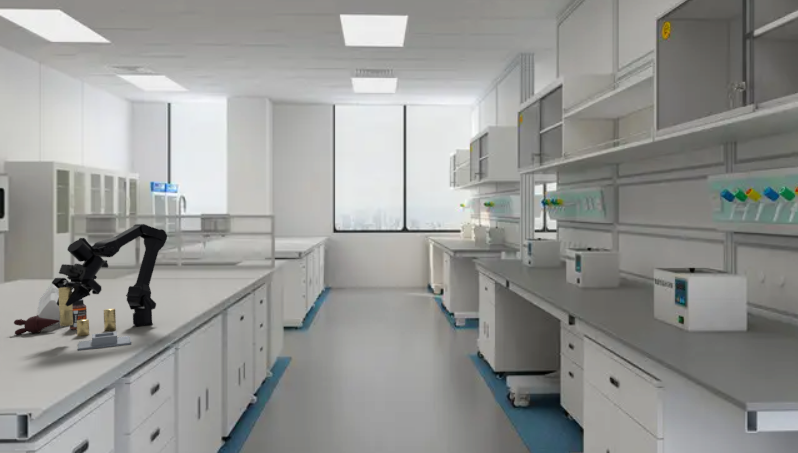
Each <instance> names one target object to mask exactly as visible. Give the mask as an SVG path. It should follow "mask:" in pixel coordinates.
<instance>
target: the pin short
mask: <svg viewBox="0 0 798 453" xmlns="http://www.w3.org/2000/svg"><path fill="white" fill-rule="evenodd" d="M76 336H77V337H85V336H90V319H88V318H87V319H82V320H77V330H76Z"/></svg>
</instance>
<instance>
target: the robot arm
mask: <svg viewBox="0 0 798 453" xmlns="http://www.w3.org/2000/svg"><path fill="white" fill-rule="evenodd" d="M137 238H142V239H143V244H144V248H145V249H144V252H143V253H144V254H143V256H142V261H141V265H140V269H139V270H138V274H137V275H138V276H137V278H136V282H135V283H134V285H129V286H128V290H127V293H126V295H125V296H126V302H127V304H128V305H129V306H128V307H129V308H130V310H132V311H133V313H132V323H133V325H134V327H141V326H152V325H154V323H153V310H155V309H156V307H157V303H156V302H155V301H154V300H153V298H151V297H152V292H151V291H152V290H151V287H150V284H151V280H152V276H153V273H154V270H155V269H154V268H155V265H156V261H157V259H158V255H159V252H160V251H161V249H162V248H163V247H164V246H165V244H166V243H167V239H168V234H167V233H166V230H164V229H162V228H160V229H159V228H156V227H153V226H150V225H148V224H145V223H136V224H134V225H133V226H132V227H129V228H128V229H126V230H124V231H122V232H121V233H118V234H117V235H115V236H113V237H111V238H108V239H102V240H100V241H96V242H95V243H94V244H93V245H91V244H90V242H88V240H87V239H86V238H85V237H79V238H78V239H76V240H75V241H73V242H72V243H70V244H69V245H68V247H67V252H69V254H71V255H72V256H73V257H74V258H75V259H76V260H77V261H78V262H81V263H74V264H64V263H63V264H61V266H60V268H59V272H58V274H59V275H64V276H67V278H65V277H55V278H54V279H53V280H52V281H51V284H54V285H55V286H56V287H57V288H61V287H72V294H71V296H70V297H69V299H68V300H67V302H66V304H65V305H66V306H70V305H71V304H73V303H75V302H77V301H79V300H80V299H85V298H86V297H88V296H89V297H90V296H91V293H92V294H93V295H100V293H101V291H102V290H103V289H102V285H101V284H100V283H99V282H98V281H97V280H96V279H97V278H98V277H97V274H98V272H99V271H100V270H101V268H102V269H103V268H104V269H105V268H106V269H107V268H109V263H108V260H106V259H103V258H112V257H114V256H115V255H116V254H118V252H120V250H121V248H122V247H124V246H125V245H128V244H129V243H130V242H132V241H134V240H135V239H137ZM82 262H83V263H82ZM57 305H58V306H59V297H58V301H57Z"/></svg>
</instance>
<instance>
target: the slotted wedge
mask: <svg viewBox="0 0 798 453" xmlns="http://www.w3.org/2000/svg"><path fill="white" fill-rule="evenodd" d="M58 297H59V293H58V288H57V287H56V286H55V285H54V284H52V283H51V284H50V286H48V288H47V289H46V291H44V293H43V295H41V297H39V298H40V299H39V300H38V301H39V302H38V306H37V311H36V315H35V316H37V315H38V317H40V318H47V319H54V320H59V322H58V323H55V324H53V325H60V316H59V306H58V305H57V301H58ZM53 325H52V326H53Z"/></svg>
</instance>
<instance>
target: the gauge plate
mask: <svg viewBox="0 0 798 453" xmlns="http://www.w3.org/2000/svg"><path fill="white" fill-rule="evenodd" d="M129 345H132V340H131V336H130V335H128V336H127V335H126V336H119V337H118V331H106V332H99V333H98V332H97V333H92V334H91V339H90V340H81V341H78V346H77V351H85V350H93V349H102V348H111V347H119V346H120V347H121V346H129Z"/></svg>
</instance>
